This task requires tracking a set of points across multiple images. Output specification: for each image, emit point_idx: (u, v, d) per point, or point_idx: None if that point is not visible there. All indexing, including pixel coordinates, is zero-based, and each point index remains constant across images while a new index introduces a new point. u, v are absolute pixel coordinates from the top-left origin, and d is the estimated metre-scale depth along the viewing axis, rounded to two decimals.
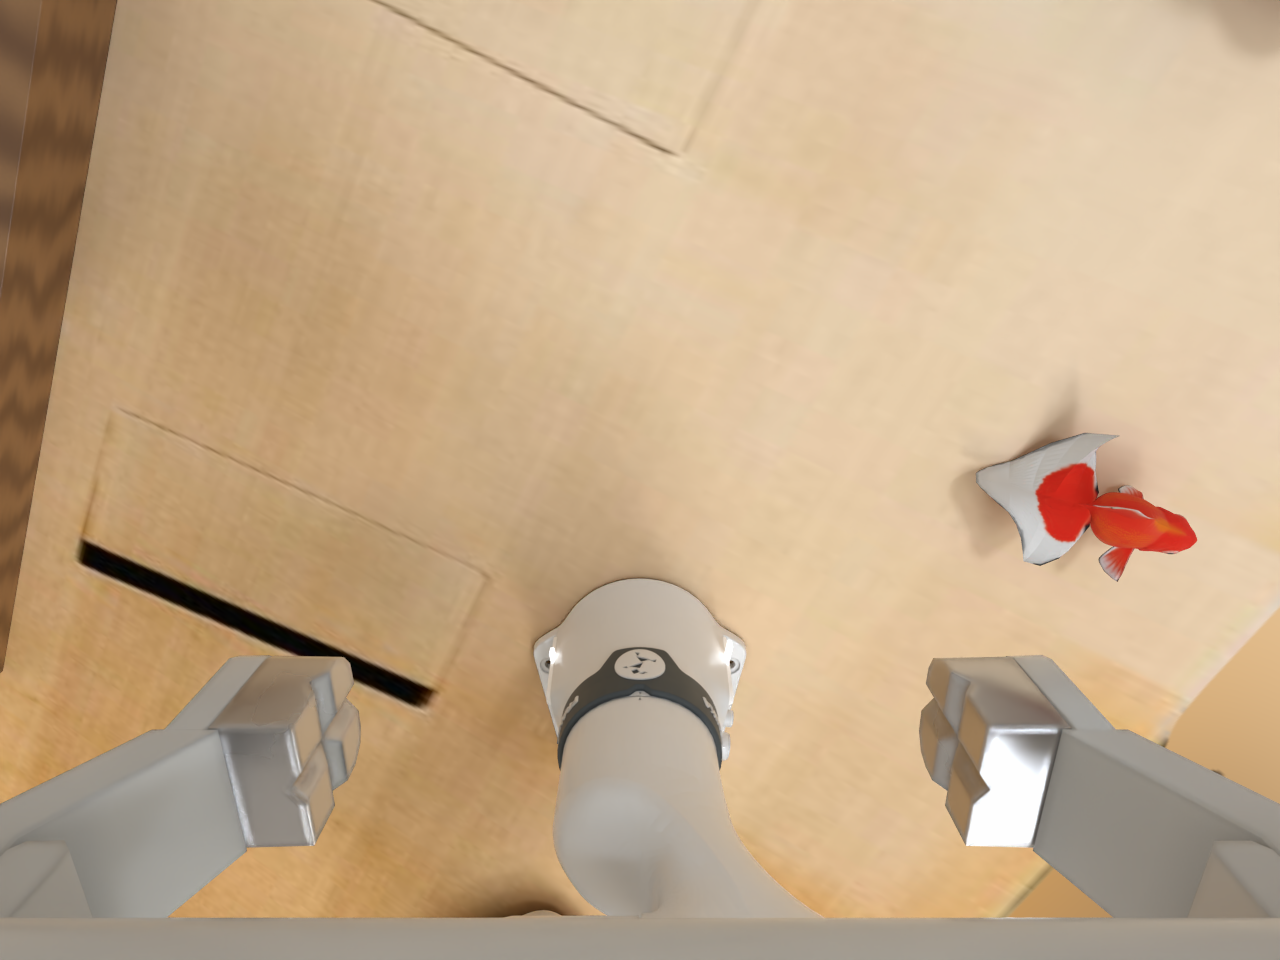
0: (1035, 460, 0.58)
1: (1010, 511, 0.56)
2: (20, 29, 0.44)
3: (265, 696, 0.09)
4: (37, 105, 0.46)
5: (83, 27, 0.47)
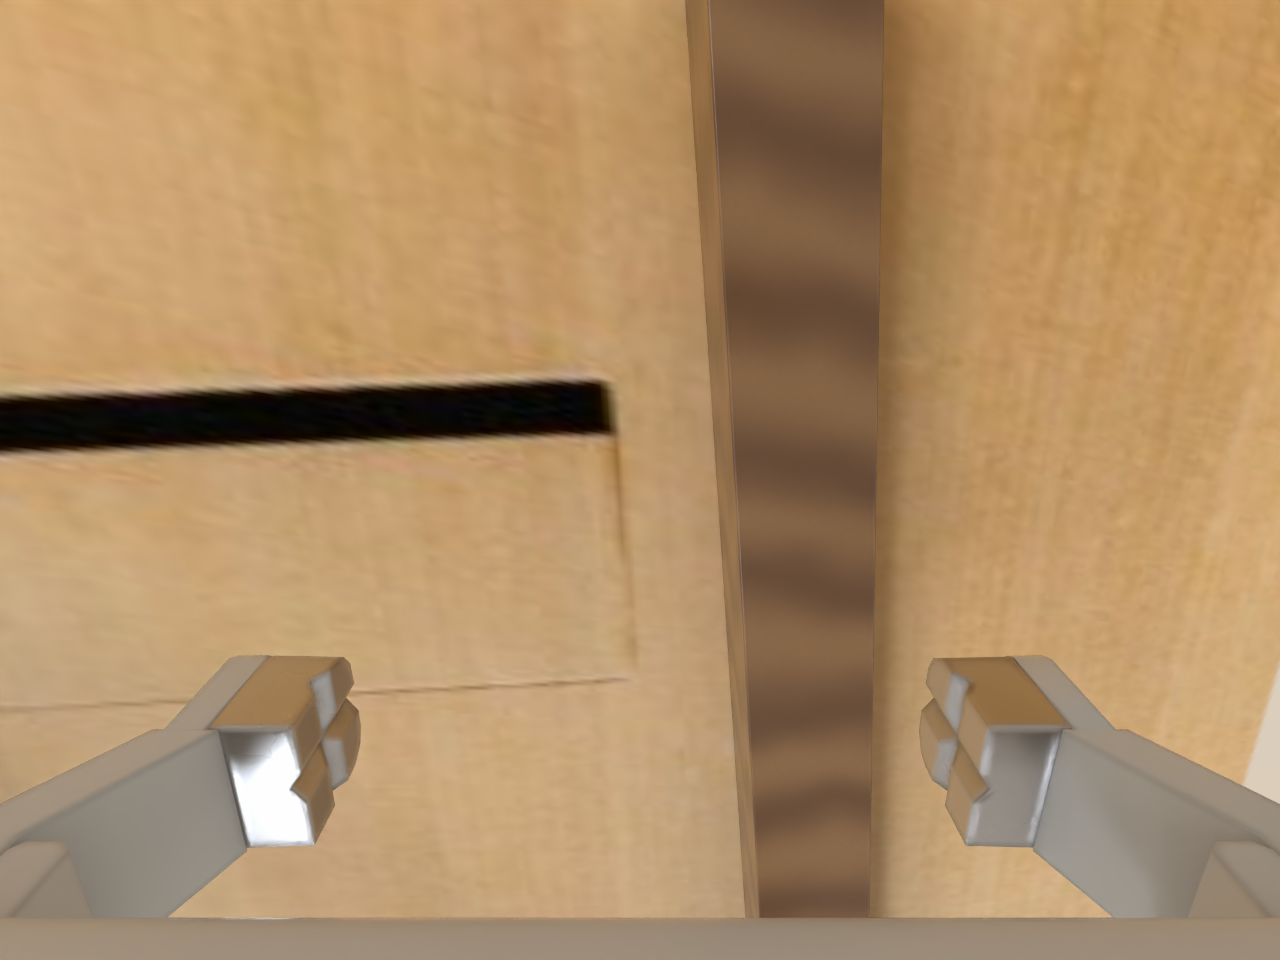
0: None
1: None
2: None
3: (265, 696, 0.09)
4: None
5: None
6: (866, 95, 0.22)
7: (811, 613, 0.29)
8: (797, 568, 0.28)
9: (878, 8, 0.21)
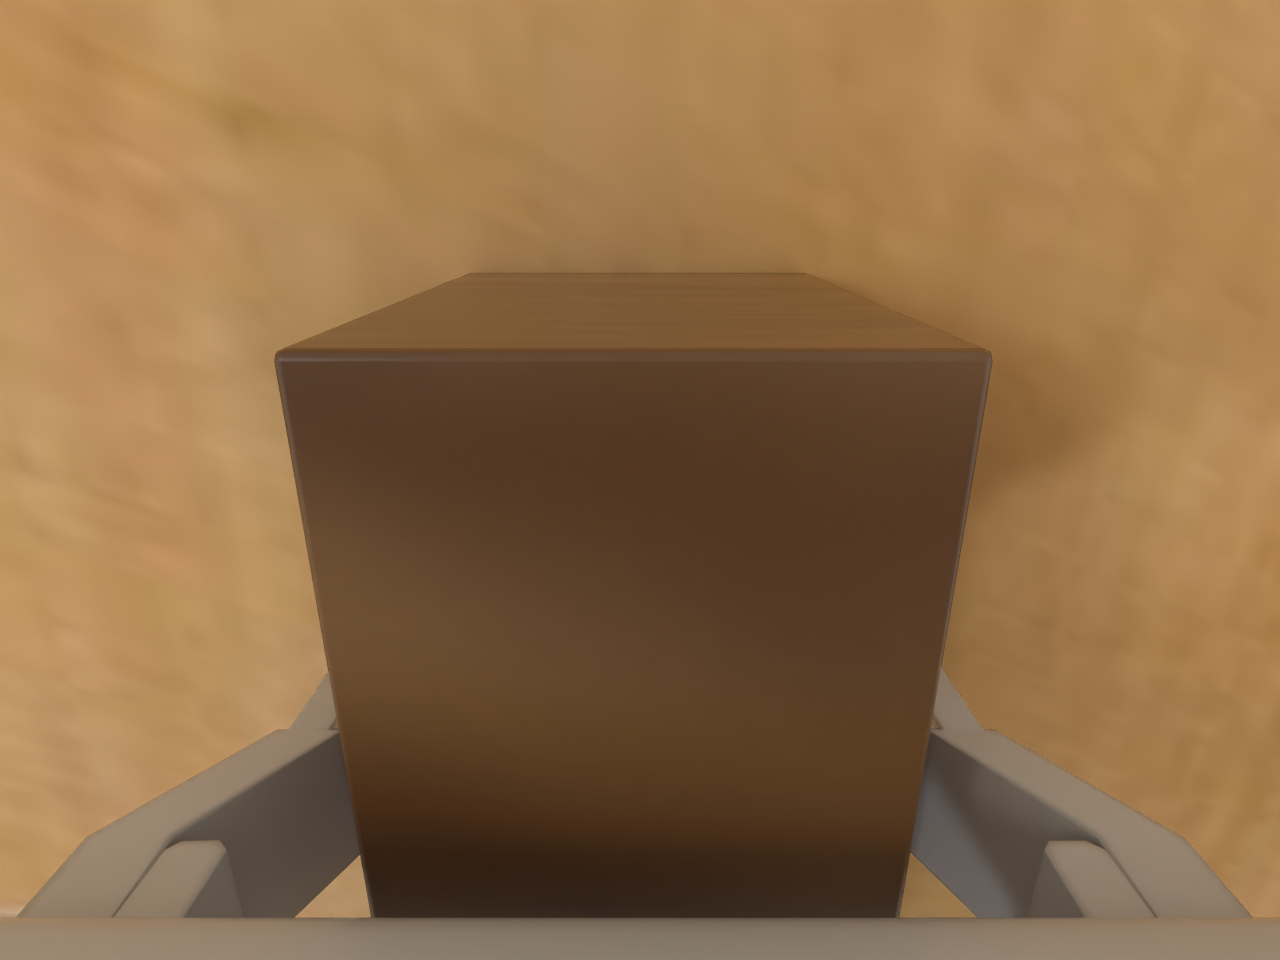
0: None
1: None
2: None
3: None
4: None
5: None
6: (858, 847, 0.07)
7: None
8: None
9: (927, 641, 0.06)
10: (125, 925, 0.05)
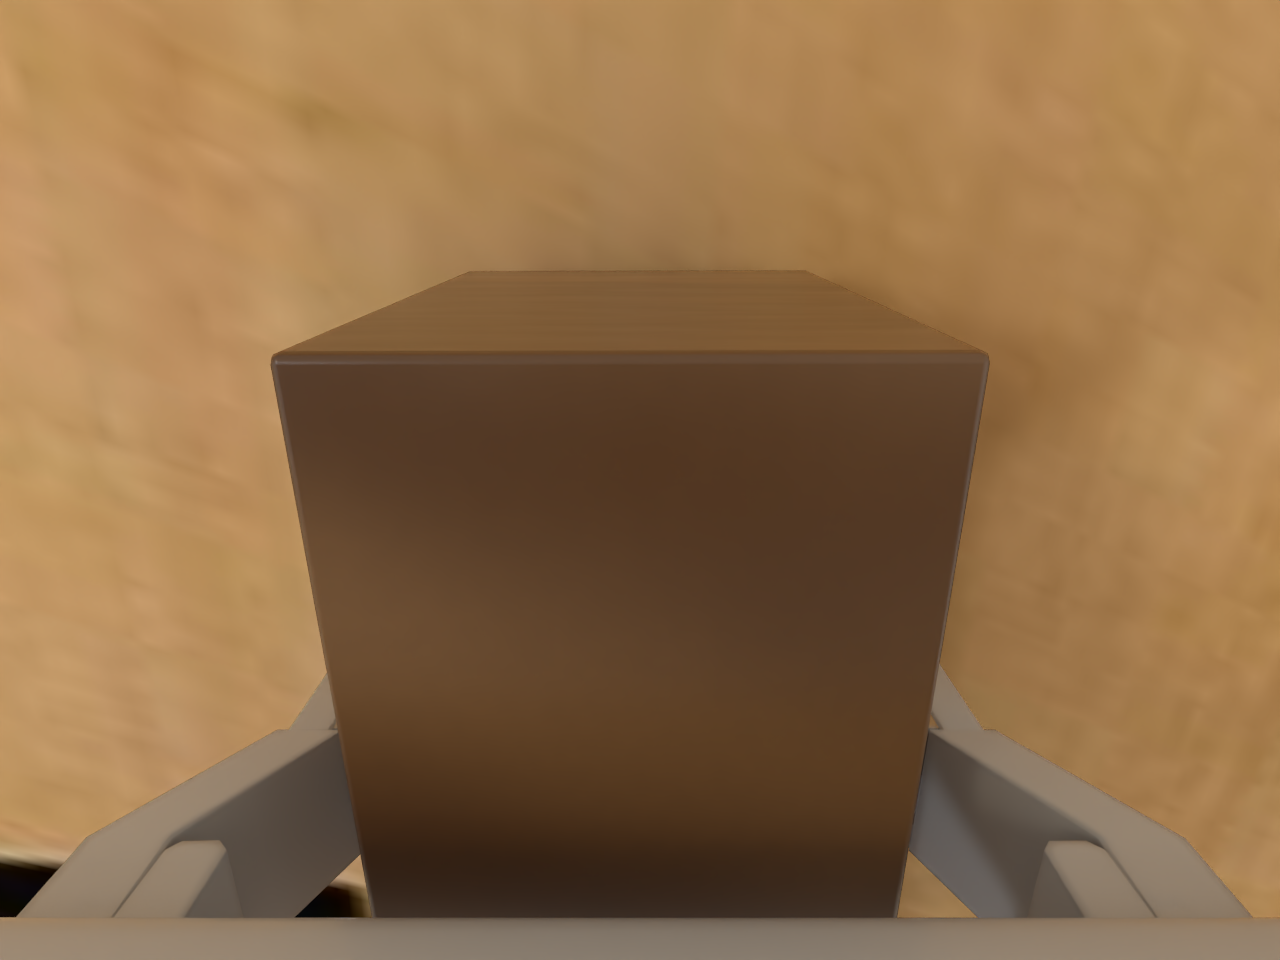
0: None
1: None
2: None
3: None
4: None
5: None
6: (856, 847, 0.07)
7: None
8: None
9: (924, 642, 0.06)
10: (125, 925, 0.05)
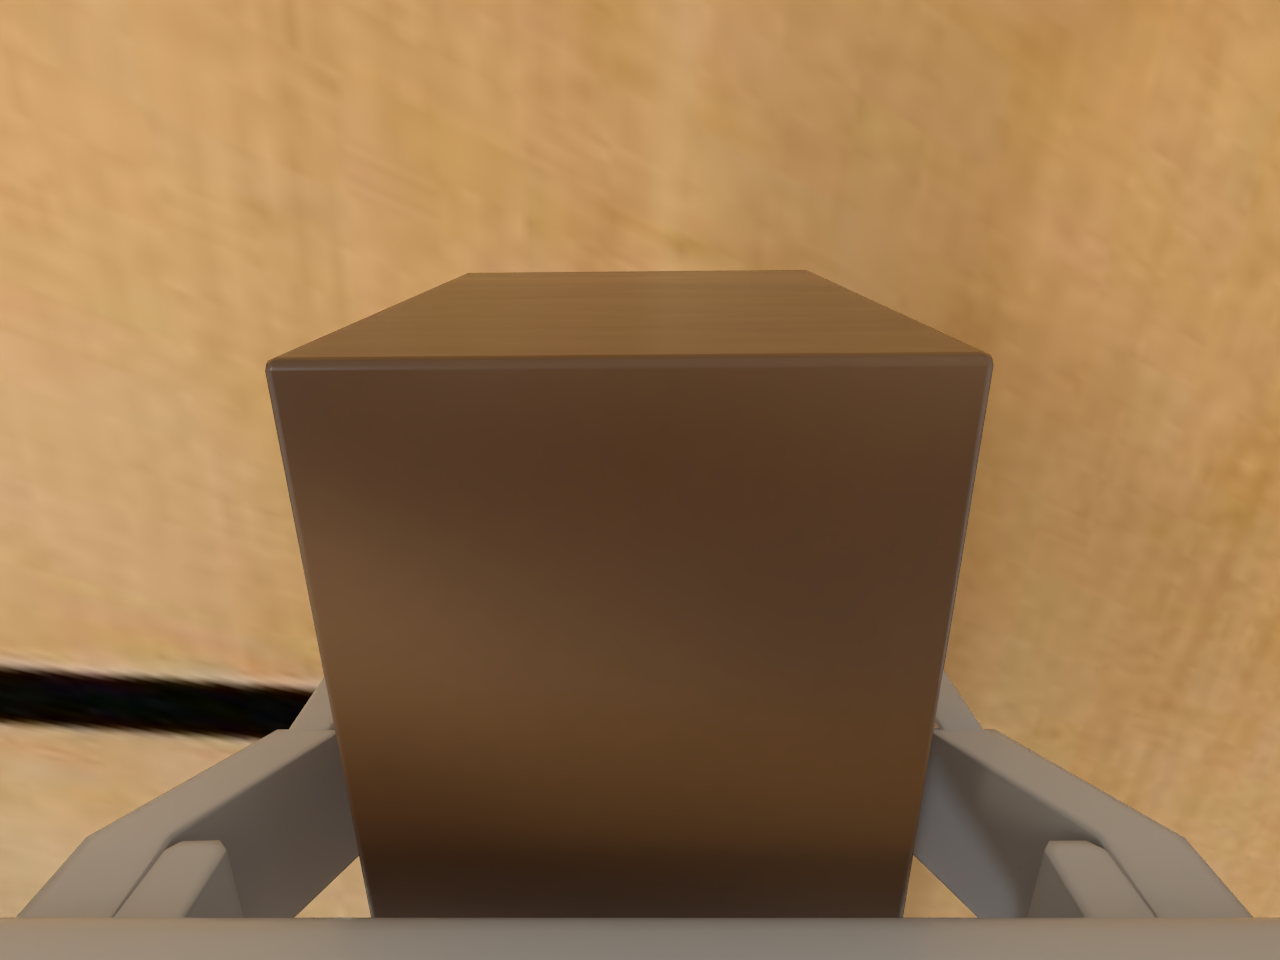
0: None
1: None
2: None
3: None
4: None
5: None
6: (860, 853, 0.07)
7: None
8: None
9: (927, 647, 0.06)
10: (125, 925, 0.05)
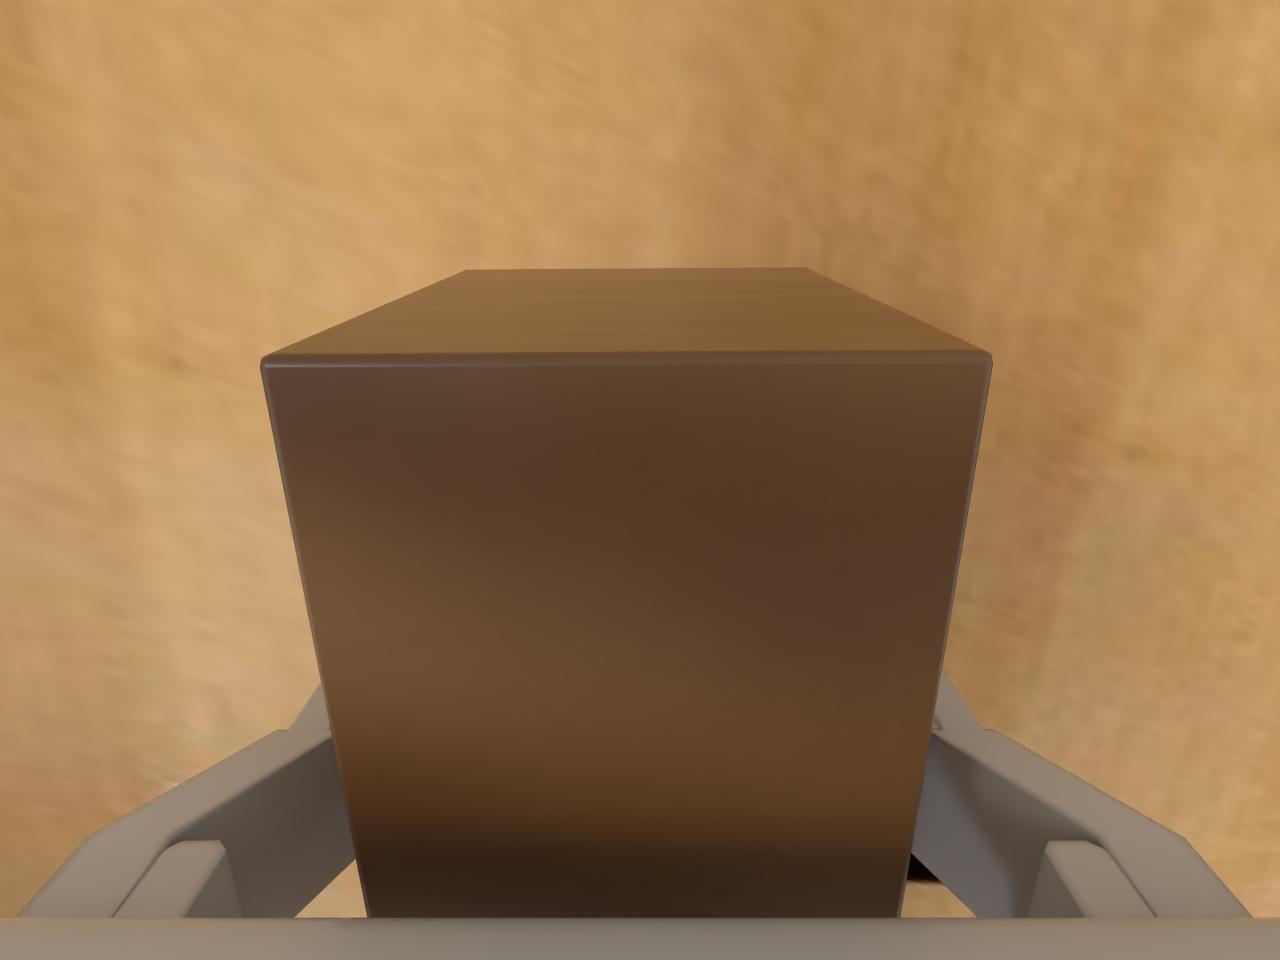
0: None
1: None
2: None
3: None
4: None
5: None
6: (858, 853, 0.07)
7: None
8: None
9: (927, 646, 0.06)
10: (125, 925, 0.05)
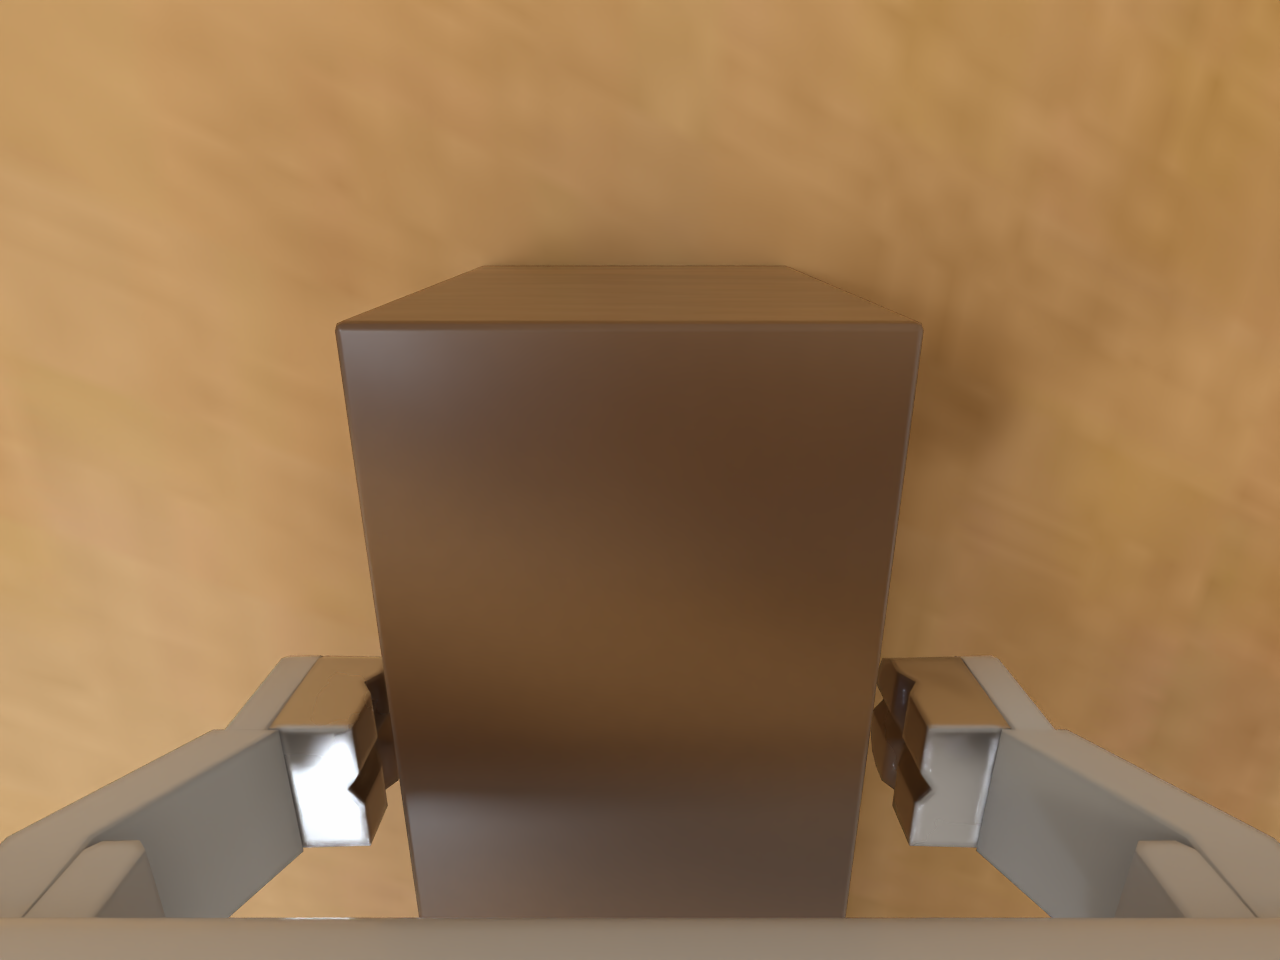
0: None
1: None
2: None
3: (322, 696, 0.09)
4: None
5: None
6: (822, 752, 0.08)
7: None
8: None
9: (874, 569, 0.07)
10: (125, 926, 0.05)
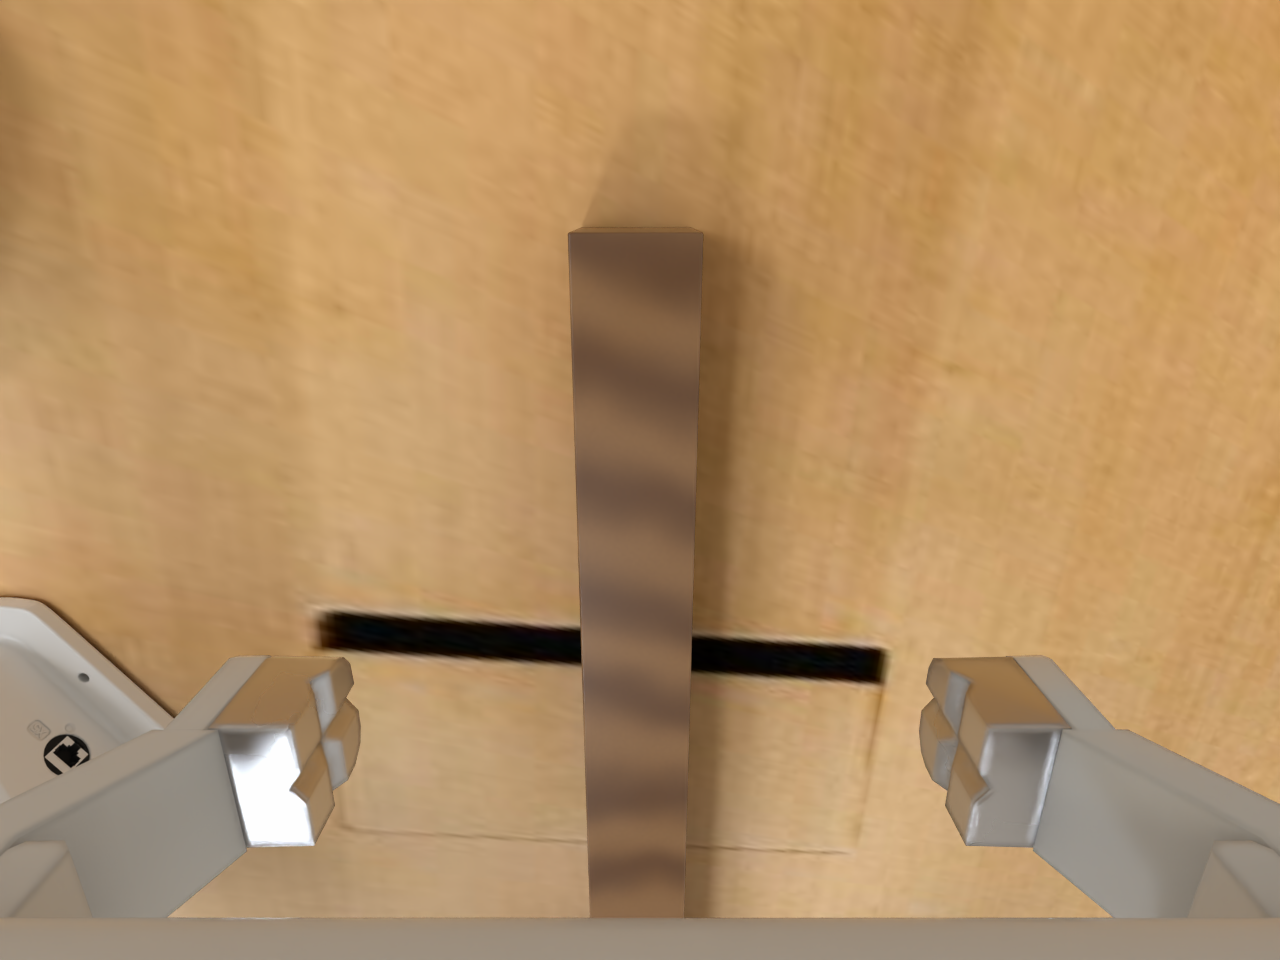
0: None
1: None
2: None
3: (265, 696, 0.09)
4: None
5: None
6: (687, 353, 0.30)
7: (638, 720, 0.36)
8: (628, 684, 0.35)
9: (697, 296, 0.29)
10: (124, 925, 0.05)
